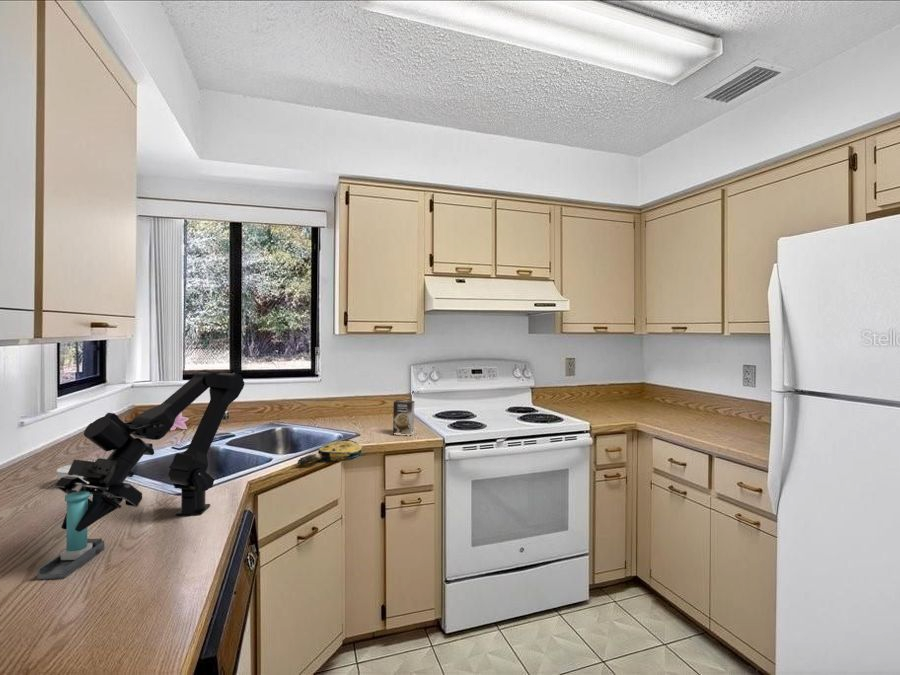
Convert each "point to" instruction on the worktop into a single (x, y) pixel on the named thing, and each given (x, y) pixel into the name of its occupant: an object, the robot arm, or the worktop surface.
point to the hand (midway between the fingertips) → (70, 529)
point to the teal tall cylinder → (75, 539)
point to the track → (69, 562)
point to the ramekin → (66, 473)
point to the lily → (179, 422)
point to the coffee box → (403, 417)
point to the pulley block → (335, 452)
